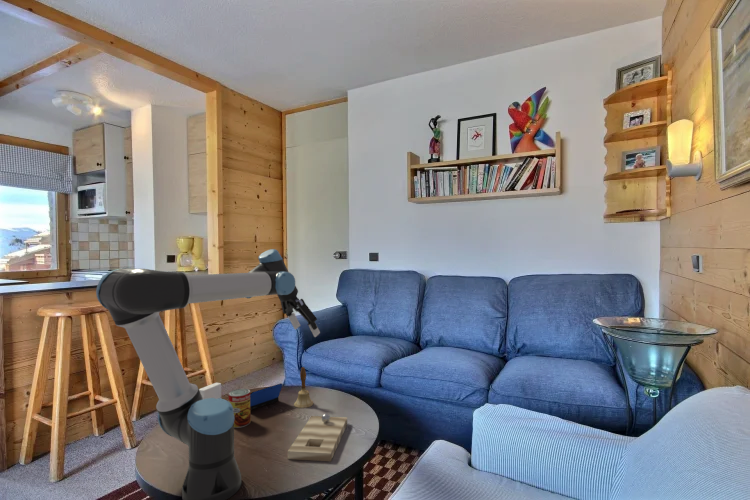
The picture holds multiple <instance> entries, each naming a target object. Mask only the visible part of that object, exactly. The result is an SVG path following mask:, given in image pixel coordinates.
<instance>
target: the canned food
mask: <svg viewBox="0 0 750 500" xmlns="http://www.w3.org/2000/svg"><path fill="white" fill-rule="evenodd" d="M250 393H251V390H250V389H248V388H236V389H233V390H231V391H229V392H228V402H230V403H231V405H232V407H233V412H234V429H239V428H244V427H247V426H249V425H250V424H251V420H252V417H251V411H252V410H250Z"/></svg>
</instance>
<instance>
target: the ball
mask: <svg viewBox="0 0 750 500" xmlns="http://www.w3.org/2000/svg"><path fill="white" fill-rule="evenodd" d="M321 416H322V418H321V419H322V421H323V422H324V423H328V422H329V421H330V417H331V416H330V414H328V413H323V414H322V415H321Z"/></svg>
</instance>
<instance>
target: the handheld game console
mask: <svg viewBox="0 0 750 500" xmlns="http://www.w3.org/2000/svg"><path fill="white" fill-rule="evenodd" d="M282 389H283V383H277V384H274V385H271V386H268V387H265V388H261V389H258V390H254V391H252V392H250V411H253V410H255V409H258V408H261V407H263V406H269V405H271V404H274V403H277V402H279V397H280V394H281V391H282Z"/></svg>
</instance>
